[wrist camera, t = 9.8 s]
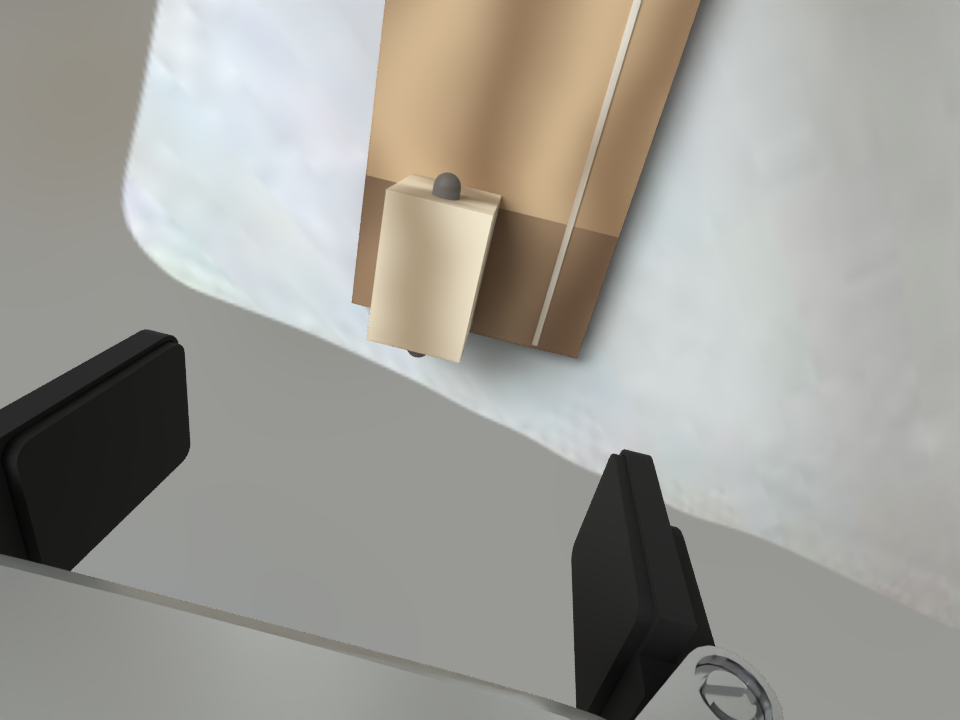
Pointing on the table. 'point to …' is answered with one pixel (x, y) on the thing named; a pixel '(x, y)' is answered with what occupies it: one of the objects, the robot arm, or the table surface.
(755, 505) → the table surface
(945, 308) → the table surface
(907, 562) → the table surface
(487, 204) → the beige block with knob
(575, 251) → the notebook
